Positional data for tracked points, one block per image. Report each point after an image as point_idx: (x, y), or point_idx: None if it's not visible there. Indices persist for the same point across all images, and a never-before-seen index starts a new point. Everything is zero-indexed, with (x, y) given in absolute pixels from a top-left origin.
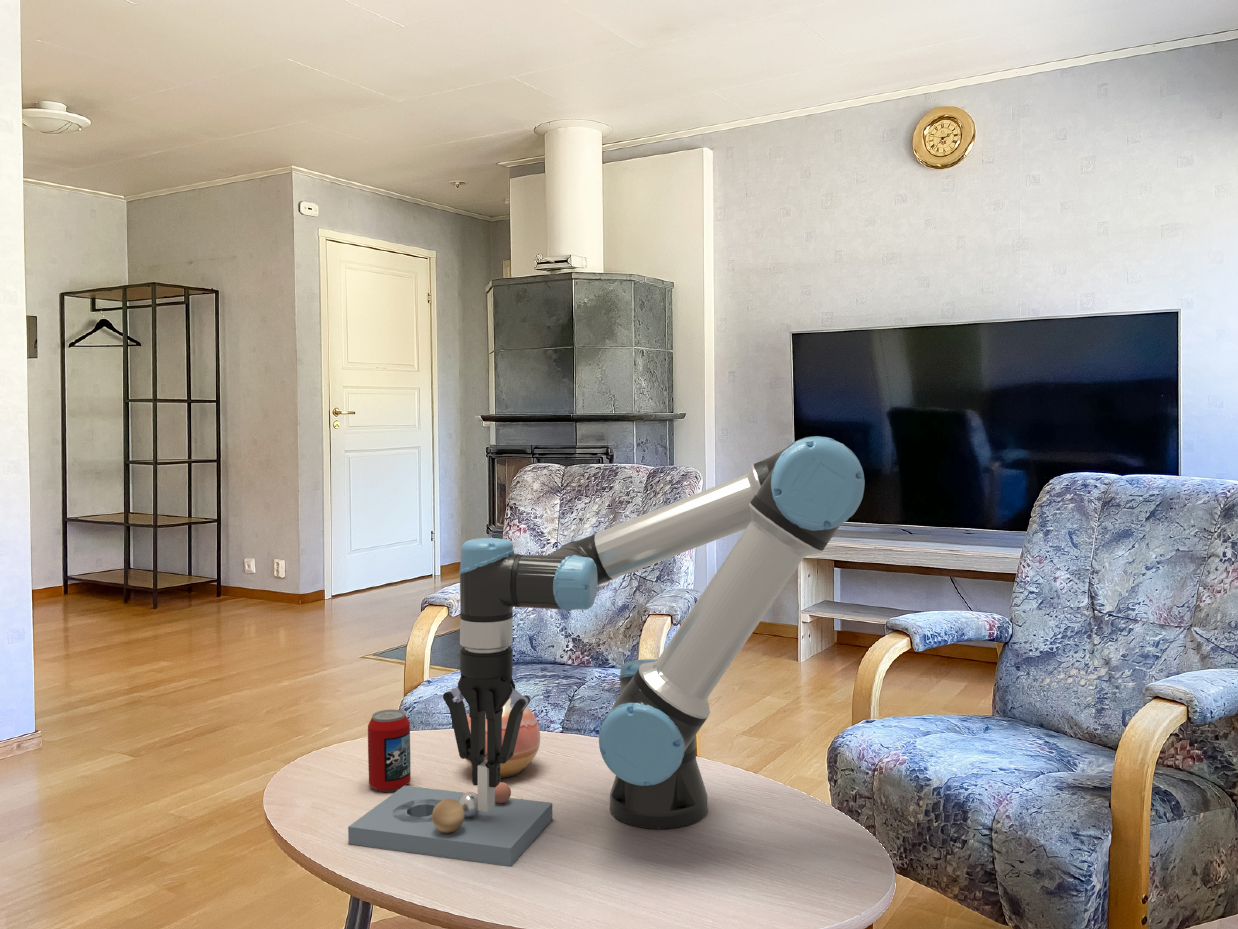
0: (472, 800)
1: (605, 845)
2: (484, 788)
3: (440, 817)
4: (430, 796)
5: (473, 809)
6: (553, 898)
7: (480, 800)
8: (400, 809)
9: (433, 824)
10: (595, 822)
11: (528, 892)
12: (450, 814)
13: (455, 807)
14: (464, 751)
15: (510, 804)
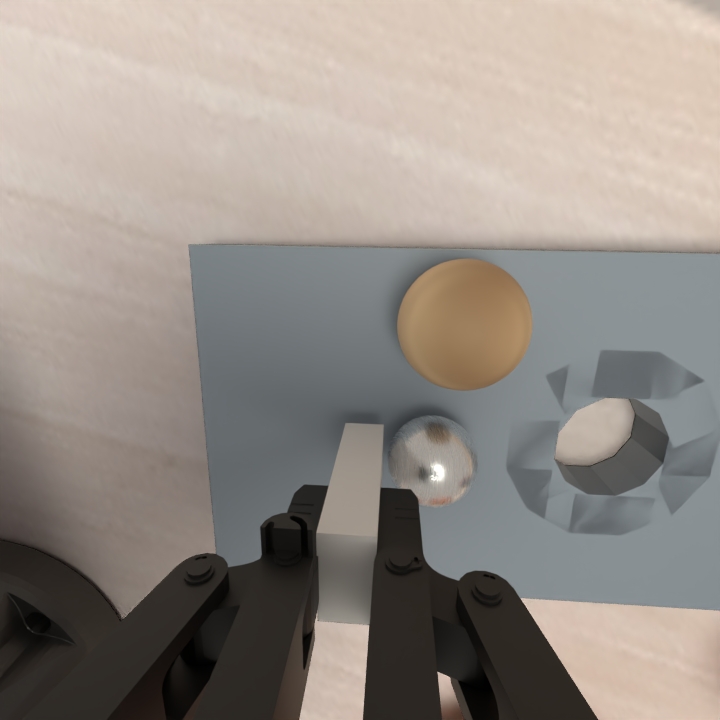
0: (410, 451)
1: (35, 432)
2: (345, 466)
3: (474, 263)
4: (622, 552)
5: (402, 429)
6: (3, 82)
7: (369, 441)
8: (697, 441)
9: (528, 354)
10: (122, 548)
11: (87, 97)
12: (433, 279)
13: (425, 315)
14: (480, 612)
15: None
